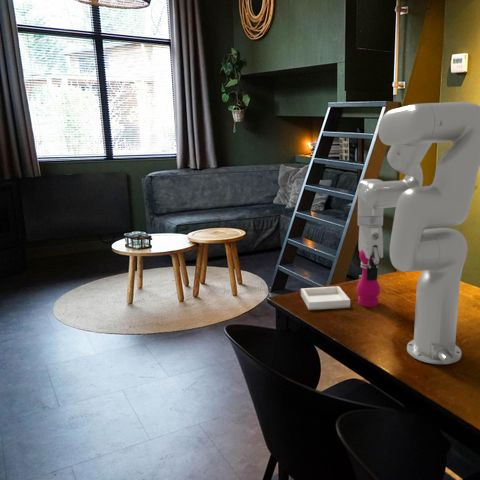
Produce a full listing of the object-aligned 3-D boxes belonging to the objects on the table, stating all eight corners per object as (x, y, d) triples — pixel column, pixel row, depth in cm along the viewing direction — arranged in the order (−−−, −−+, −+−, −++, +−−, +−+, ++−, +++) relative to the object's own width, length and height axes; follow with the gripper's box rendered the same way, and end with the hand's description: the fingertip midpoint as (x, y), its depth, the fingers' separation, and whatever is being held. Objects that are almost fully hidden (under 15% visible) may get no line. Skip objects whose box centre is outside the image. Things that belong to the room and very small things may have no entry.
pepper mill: (377, 299, 158) (379, 239, 154) (381, 307, 151) (383, 245, 147) (354, 299, 159) (356, 239, 154) (357, 307, 152) (359, 245, 147)
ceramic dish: (350, 307, 152) (350, 299, 152) (308, 310, 152) (308, 302, 151) (338, 293, 165) (339, 286, 164) (300, 295, 164) (300, 288, 164)
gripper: (392, 225, 141) (390, 285, 145) (372, 214, 157) (371, 268, 162) (367, 226, 140) (365, 286, 145) (350, 215, 157) (349, 269, 161)
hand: (368, 276), depth 153 cm, fingers closed on pepper mill, 5 cm apart
